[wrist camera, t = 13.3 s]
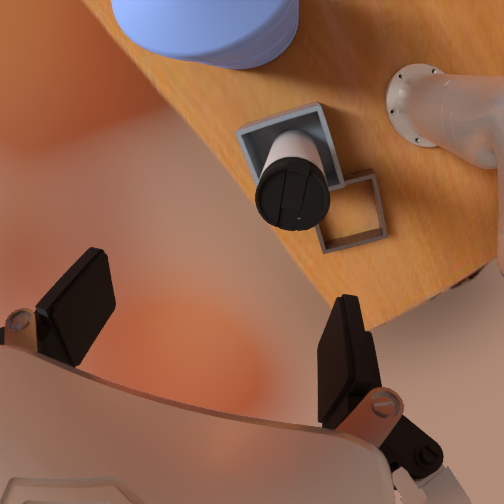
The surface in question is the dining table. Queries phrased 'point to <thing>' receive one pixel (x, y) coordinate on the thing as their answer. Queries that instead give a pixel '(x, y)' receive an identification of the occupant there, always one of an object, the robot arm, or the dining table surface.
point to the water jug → (211, 29)
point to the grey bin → (303, 118)
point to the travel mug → (293, 183)
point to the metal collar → (361, 237)
